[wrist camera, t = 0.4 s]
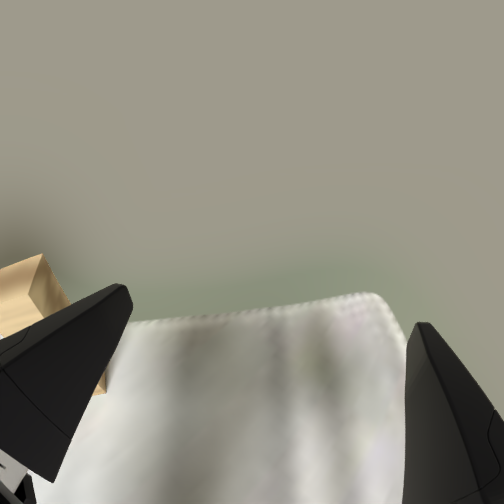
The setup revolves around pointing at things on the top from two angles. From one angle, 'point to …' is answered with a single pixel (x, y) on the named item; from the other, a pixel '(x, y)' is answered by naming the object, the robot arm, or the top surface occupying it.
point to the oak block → (31, 298)
